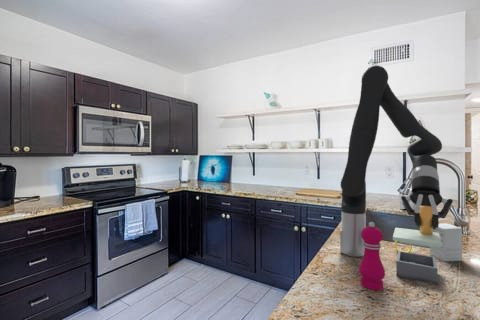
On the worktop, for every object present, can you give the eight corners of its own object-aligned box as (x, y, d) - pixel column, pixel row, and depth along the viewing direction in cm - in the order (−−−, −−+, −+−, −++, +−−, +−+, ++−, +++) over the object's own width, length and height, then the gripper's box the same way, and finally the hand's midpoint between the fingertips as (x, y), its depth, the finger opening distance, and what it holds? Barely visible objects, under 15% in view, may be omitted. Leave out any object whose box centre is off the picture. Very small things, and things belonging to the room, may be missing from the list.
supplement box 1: (418, 209, 186) (418, 189, 186) (412, 211, 181) (412, 190, 181) (404, 207, 194) (404, 187, 193) (398, 209, 188) (398, 188, 188)
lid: (392, 243, 76) (392, 209, 76) (395, 232, 85) (395, 202, 85) (441, 250, 70) (441, 213, 69) (438, 238, 79) (438, 206, 79)
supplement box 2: (446, 253, 105) (446, 222, 105) (462, 261, 98) (463, 228, 98) (428, 254, 105) (428, 223, 105) (443, 261, 98) (444, 228, 98)
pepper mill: (373, 293, 76) (373, 226, 76) (354, 282, 83) (353, 220, 83) (390, 288, 79) (390, 223, 79) (370, 277, 86) (370, 218, 86)
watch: (410, 252, 108) (411, 238, 107) (411, 255, 105) (412, 240, 105) (393, 249, 111) (395, 235, 110) (394, 251, 108) (395, 237, 108)
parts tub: (396, 275, 87) (396, 260, 87) (398, 263, 96) (398, 250, 96) (437, 284, 81) (437, 268, 81) (435, 271, 90) (435, 256, 90)
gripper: (399, 174, 88) (398, 217, 79) (453, 175, 80) (458, 223, 71) (400, 188, 93) (399, 230, 83) (451, 190, 85) (456, 237, 75)
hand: (426, 226), depth 77 cm, fingers closed on lid, 3 cm apart
